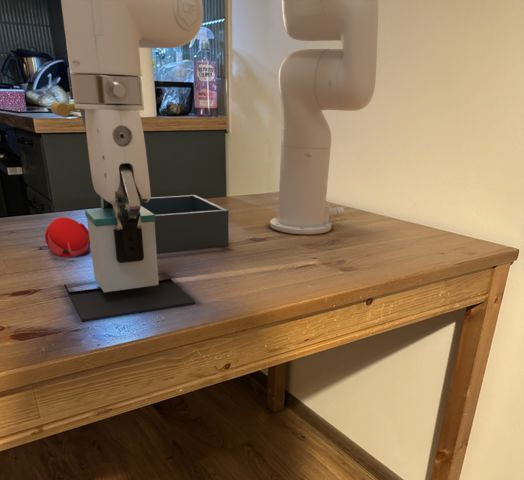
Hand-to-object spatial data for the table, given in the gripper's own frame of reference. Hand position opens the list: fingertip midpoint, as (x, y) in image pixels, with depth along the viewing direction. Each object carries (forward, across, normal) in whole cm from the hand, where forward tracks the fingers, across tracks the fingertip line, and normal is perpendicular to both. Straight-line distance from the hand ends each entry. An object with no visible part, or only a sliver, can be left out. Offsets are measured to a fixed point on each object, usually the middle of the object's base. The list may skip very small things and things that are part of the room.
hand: (123, 252), depth 63 cm
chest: (+6, +22, -13) cm, 26 cm away
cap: (+6, +21, +4) cm, 22 cm away
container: (+4, 0, 0) cm, 4 cm away
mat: (+6, 0, 0) cm, 6 cm away
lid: (-10, +22, -4) cm, 25 cm away
